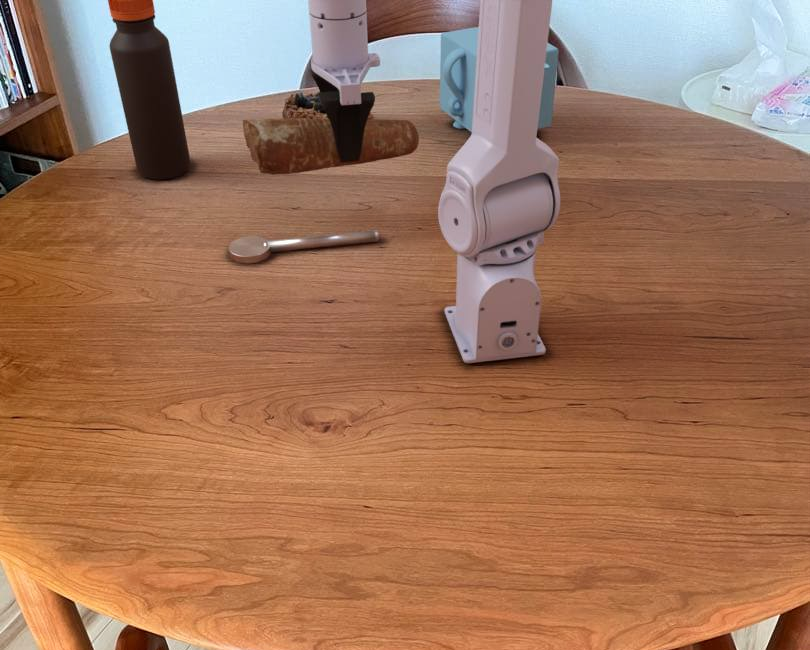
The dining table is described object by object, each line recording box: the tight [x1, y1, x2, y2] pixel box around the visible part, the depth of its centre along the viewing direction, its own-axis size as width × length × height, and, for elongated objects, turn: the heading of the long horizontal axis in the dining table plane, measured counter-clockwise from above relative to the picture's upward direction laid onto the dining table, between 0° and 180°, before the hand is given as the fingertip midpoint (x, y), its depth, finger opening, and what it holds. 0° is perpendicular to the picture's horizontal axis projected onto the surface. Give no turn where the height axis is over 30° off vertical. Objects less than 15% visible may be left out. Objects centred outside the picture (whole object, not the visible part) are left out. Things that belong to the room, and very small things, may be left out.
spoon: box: [228, 230, 381, 265], centre depth 101 cm, size 5×17×1 cm, turn 100°
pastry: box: [281, 91, 374, 119], centre depth 121 cm, size 11×12×6 cm
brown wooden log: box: [242, 118, 420, 175], centre depth 99 cm, size 6×19×6 cm, turn 104°
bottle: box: [107, 0, 191, 181], centre depth 109 cm, size 7×7×20 cm
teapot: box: [439, 26, 560, 133], centre depth 117 cm, size 18×16×13 cm
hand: (345, 149), depth 100 cm, fingers closed on brown wooden log, 5 cm apart
